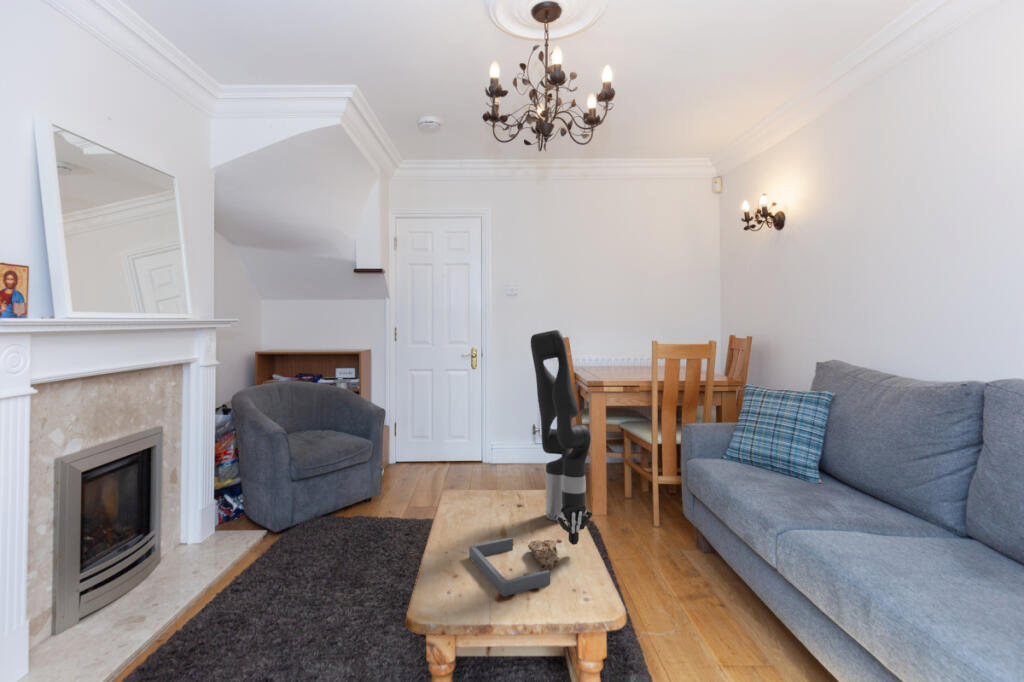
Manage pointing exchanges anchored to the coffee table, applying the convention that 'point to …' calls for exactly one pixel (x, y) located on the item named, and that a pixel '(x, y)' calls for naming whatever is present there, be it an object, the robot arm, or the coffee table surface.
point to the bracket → (496, 578)
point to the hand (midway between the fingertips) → (573, 543)
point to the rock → (544, 553)
